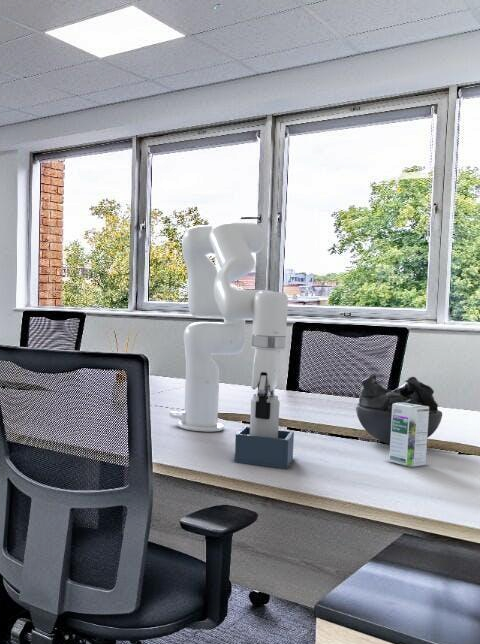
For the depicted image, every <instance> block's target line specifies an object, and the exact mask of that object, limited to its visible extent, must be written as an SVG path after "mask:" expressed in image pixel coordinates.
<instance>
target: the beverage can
mask: <svg viewBox="0 0 480 644" xmlns="http://www.w3.org/2000/svg"><path fill="white" fill-rule="evenodd" d="M256 401H257V393H253V394H252V398H251V400H250V415H249V416H250V417H249V418H250V419H249V427H250V435H253V436H262V437H270V438H278V430H279V424H280V405H281V404H280V400H279V396H278V395H275V394H274V395H270V401H269V403H271V406H270V419H259V418H256V417H255V410H256Z"/></svg>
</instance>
